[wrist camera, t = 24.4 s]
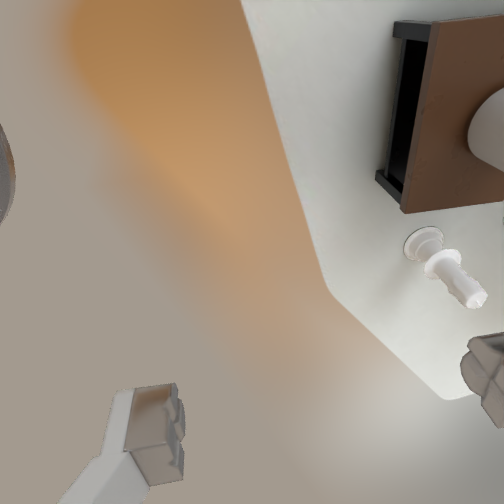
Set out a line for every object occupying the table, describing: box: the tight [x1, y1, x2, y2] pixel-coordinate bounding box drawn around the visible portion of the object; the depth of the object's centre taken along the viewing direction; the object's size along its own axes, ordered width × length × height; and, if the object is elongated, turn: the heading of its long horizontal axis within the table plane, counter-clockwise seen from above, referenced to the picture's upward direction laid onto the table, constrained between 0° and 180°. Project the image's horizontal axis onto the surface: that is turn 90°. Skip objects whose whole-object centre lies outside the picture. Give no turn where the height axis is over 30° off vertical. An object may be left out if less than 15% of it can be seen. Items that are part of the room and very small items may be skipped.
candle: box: [404, 227, 488, 309], centre depth 43 cm, size 5×5×12 cm
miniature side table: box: [375, 14, 504, 214], centre depth 33 cm, size 14×16×10 cm
